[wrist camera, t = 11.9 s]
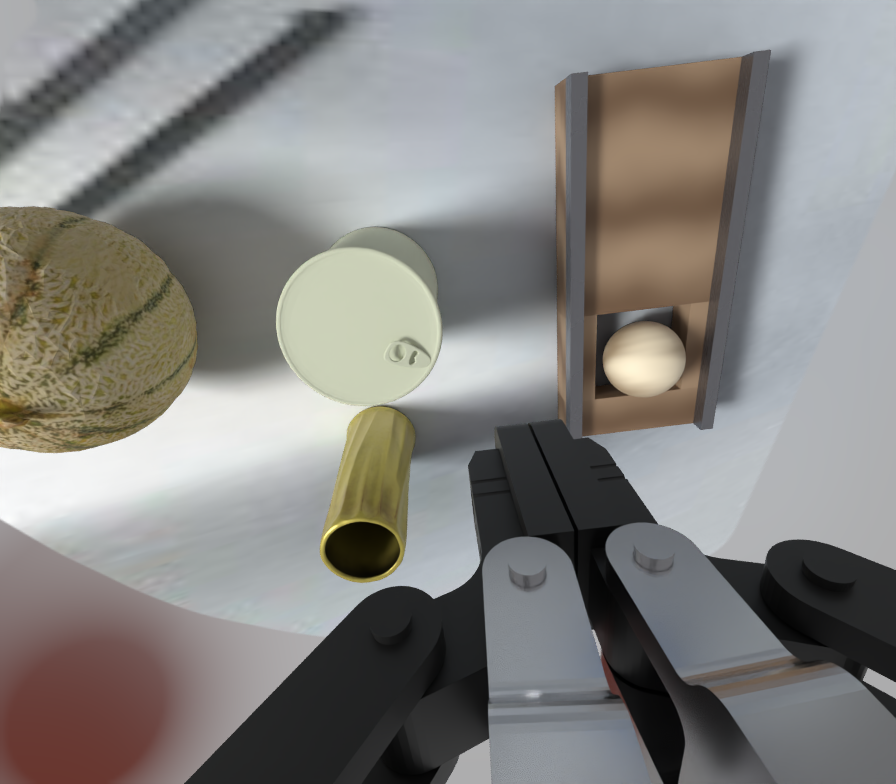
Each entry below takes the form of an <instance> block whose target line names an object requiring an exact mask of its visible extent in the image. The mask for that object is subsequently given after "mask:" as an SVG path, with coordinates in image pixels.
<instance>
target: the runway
mask: <svg viewBox="0 0 896 784" xmlns="http://www.w3.org/2000/svg"><path fill="white" fill-rule="evenodd" d="M770 53H771V50H765V51H756V52H753V53H750V54H748V55H745V56H743V57H737V58H729V59H720V60H712V61H704V62H696V63H687V64H679V65H671V66H662V67H654V68H646V69H638V70H629V71H621V72H613V73H604V74H596V75H588V72H583V73H574V74H571V75H569V76H568V77H567V78H565V79H564V80H563V81H561V82H560V83H559V84H557V85H556V86H555V142H556V252H557V361H558V419H561V420H562V421H563V422H564V424H565V425H566V427H567V429H568V431H569V432H570V434H571V436H572V437H573V439H580V438H582V436H590V435H598V434H606V433H615V432H623V431H631V430H639V429H648V428H656V427H664V426H672V425H681V424H689V423H694V424H695V425H696V426H697V427H698V428H699V429H700V430H704V429H712V428H713V423H714V416H715V410H716V404H717V397H718V391H719V384H720V378H721V371H722V365H723V358H724V352H725V345H726V339H727V332H728V326H729V319H730V313H731V306H732V300H733V293H734V287H735V280H736V274H737V267H738V261H739V254H740V248H741V241H742V235H743V228H744V222H745V215H746V209H747V202H748V196H749V189H750V183H751V176H752V170H753V163H754V157H755V150H756V144H757V138H758V131H759V125H760V118H761V112H762V105H763V99H764V92H765V86H766V79H767V73H768V66H769V60H770ZM667 306H673V315H672V325H671V330H673V331H674V332H675V333H676V334H677V335H678V337H679V338H680V340H681V341H682V343H683V346H684V348H685V353H686V363H685V368H684V371H683V373H682V375H681V377H680V379H679V380H678V381H677V383H676V384H675V385H674V386H673V387H671V388H670V389H669V390H667V391H665V392H664V393H662V394H659V395H656V396H653V397H634V396H630V395H627V394H625V393H623V392H621V391H620V390H618V389H617V388H616V387H614V386H613V385H612V384H609V385H601V386H595V371H596V336H597V315H601V314H609V313H618V312H626V311H634V310H643V309H651V308H659V307H667Z"/></svg>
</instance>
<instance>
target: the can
mask: <svg viewBox="0 0 896 784" xmlns="http://www.w3.org/2000/svg"><path fill="white" fill-rule="evenodd" d="M437 295H438V284H437V278H436V274H435V270H434V268H433V265H432V263H431V261H430V259H429V258H428V256H427V255H426V253H425V252H424V251H423V249H422V248H421V247H420V246H419V245H418V244H417V243H416V242H414V241H413V240H412V239H410V238H409V237H407V236H406V235H404V234H402V233H400V232H398V231H395V230H392V229H388V228H382V227H367V228H362V229H358V230H355V231H353V232H350V233H348V234H346V235H345V236H343V237H342V238H340V239H339V240H338V241H337V242H336V243H334V245H333V246H332V247H331V248H330V249H329V250H327V251H325V252H322V253H320V254H318V255H316V256H314V257H312V258H311V259H309V260H308V261H306V262H305V263H304V264H302V265H301V266H300V267H299V268H298V269H297V270H296V271H295V272H294V273H293V275H292V276H291V277H290V279H289V280H288V282H287V283H286V285H285V287H284V289H283V291H282V293H281V296H280V298H279V302H278V306H277V312H276V330H277V336H278V341H279V344H280V347H281V350H282V353H283V355H284V357H285V359H286V361H287V362H288V364H289V365H290V367H291V369H292V370H293V371H294V372H295V374H296V375H297V376H298V377H299V378H300V379H301V380H302V381H303V382H304V383H305V384H306V385H307V386H309V387H310V388H311V389H313V390H314V391H316V392H317V393H319V394H321V395H323V396H324V397H327V398H329V399H331V400H334V401H337V402H340V403H343V404H348V405H355V406H374V405H381V404H385V403H389V402H392V401H395V400H397V399H399V398H401V397H403V396H405V395H407V394H408V393H410V392H411V391H413V390H414V389H415V388H416V387H418V386H419V385H420V384H421V383H422V382H423V381H424V380H425V378H426V377H427V376H428V375H429V373H430V372H431V370H432V368H433V367H434V365H435V363H436V360H437V358H438V355H439V352H440V348H441V343H442V319H441V314H440V310H439V307H438V304H437Z"/></svg>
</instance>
